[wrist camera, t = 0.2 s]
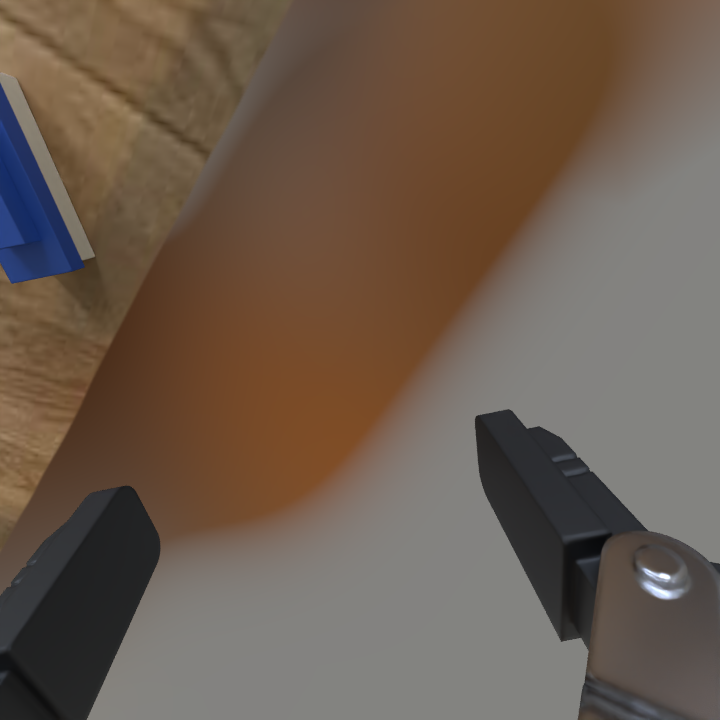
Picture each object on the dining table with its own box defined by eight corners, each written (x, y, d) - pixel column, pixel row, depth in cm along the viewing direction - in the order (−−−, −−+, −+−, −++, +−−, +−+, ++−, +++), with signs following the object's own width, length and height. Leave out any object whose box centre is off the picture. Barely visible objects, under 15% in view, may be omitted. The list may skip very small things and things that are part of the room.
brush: (-50, 82, 29) (-138, 57, 24) (15, 68, 29) (-58, 40, 24) (46, 273, 35) (-7, 289, 29) (100, 262, 35) (58, 276, 29)
